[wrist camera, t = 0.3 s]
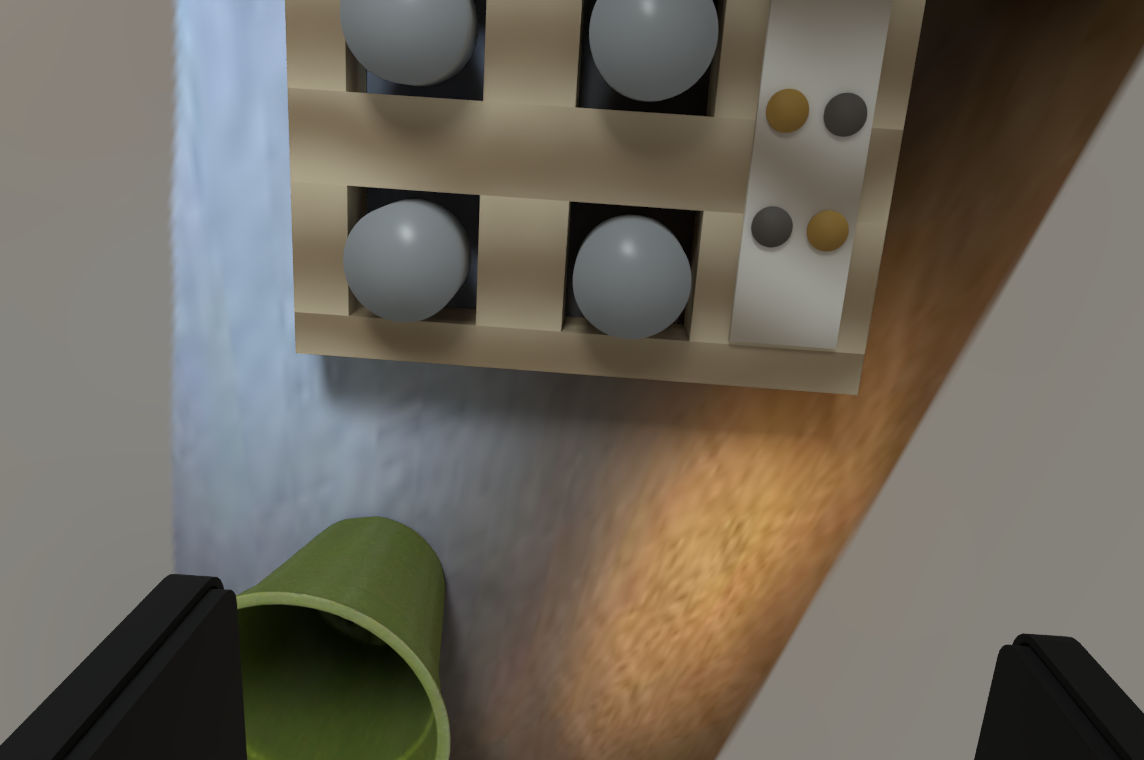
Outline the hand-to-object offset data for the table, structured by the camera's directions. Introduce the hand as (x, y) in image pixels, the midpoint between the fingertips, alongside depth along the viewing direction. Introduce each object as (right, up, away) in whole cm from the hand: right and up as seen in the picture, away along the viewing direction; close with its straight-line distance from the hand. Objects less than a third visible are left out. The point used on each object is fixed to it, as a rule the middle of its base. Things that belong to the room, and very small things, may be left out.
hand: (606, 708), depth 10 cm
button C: (-7, +9, +26) cm, 28 cm away
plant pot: (-10, -6, +33) cm, 35 cm away
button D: (+2, +9, +26) cm, 27 cm away
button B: (+3, +17, +23) cm, 29 cm away
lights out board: (0, +14, +26) cm, 30 cm away
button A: (-6, +18, +23) cm, 30 cm away
